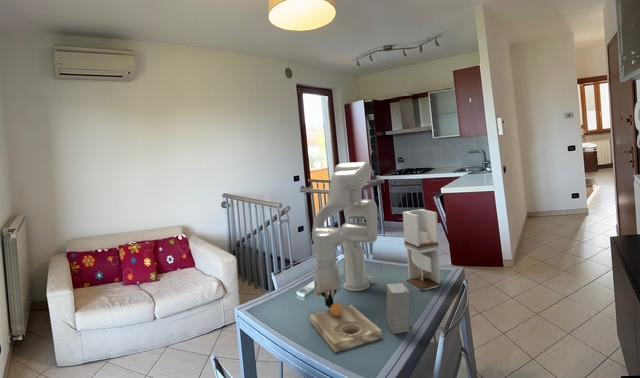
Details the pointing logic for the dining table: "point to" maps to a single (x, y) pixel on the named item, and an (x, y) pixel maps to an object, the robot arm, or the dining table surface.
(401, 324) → the skincare box
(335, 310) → the ball
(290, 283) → the dining table surface
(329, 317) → the block
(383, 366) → the dining table surface
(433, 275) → the display case
